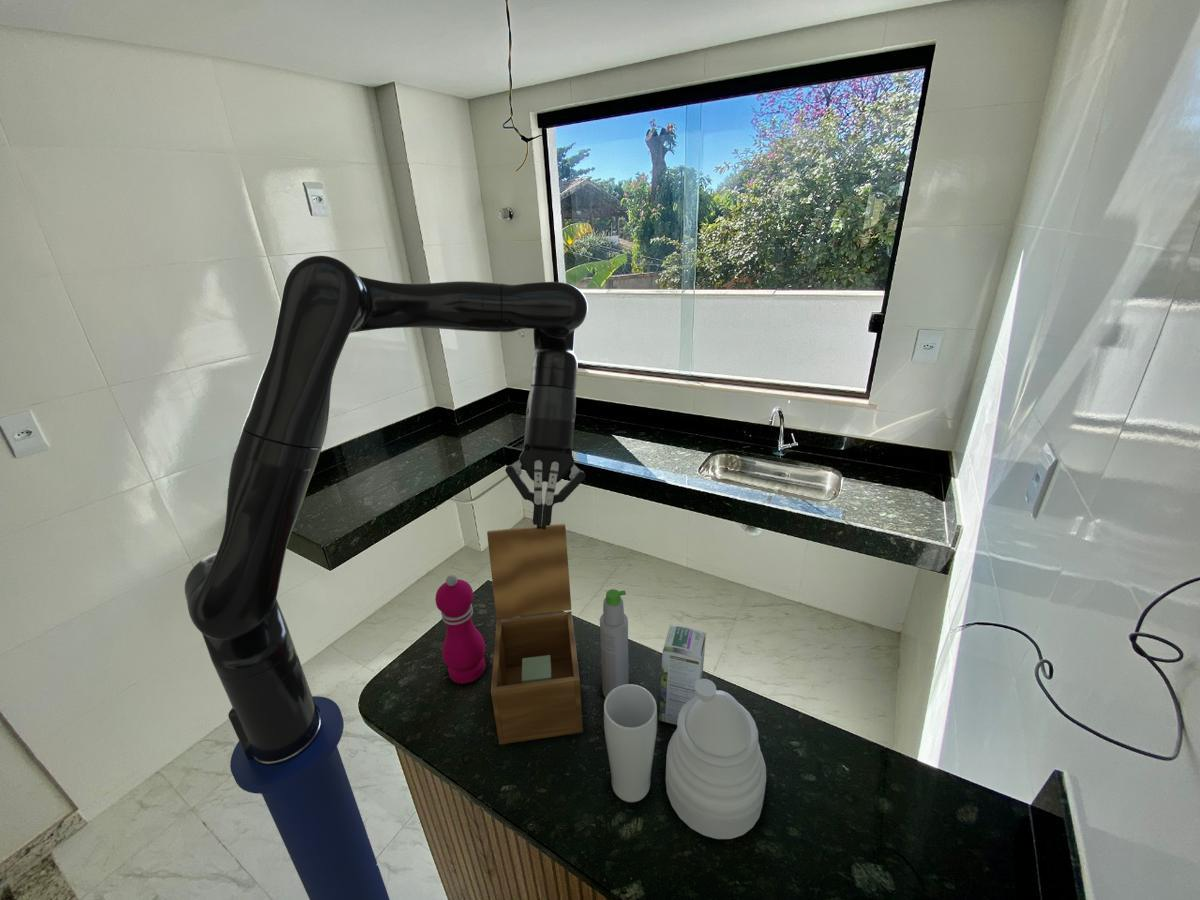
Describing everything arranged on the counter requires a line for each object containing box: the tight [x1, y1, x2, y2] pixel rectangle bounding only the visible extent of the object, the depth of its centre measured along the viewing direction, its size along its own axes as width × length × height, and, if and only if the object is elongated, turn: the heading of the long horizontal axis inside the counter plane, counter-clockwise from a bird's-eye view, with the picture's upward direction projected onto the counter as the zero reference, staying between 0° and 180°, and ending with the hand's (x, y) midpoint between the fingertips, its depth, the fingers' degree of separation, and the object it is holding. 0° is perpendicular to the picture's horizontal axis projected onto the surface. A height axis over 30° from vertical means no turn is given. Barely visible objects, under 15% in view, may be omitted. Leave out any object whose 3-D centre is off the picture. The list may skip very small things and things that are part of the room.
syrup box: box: [658, 624, 707, 726], centre depth 74 cm, size 6×6×14 cm
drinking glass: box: [603, 683, 658, 803], centre depth 63 cm, size 7×7×15 cm
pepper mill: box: [434, 574, 486, 685], centre depth 82 cm, size 7×7×20 cm
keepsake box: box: [490, 610, 584, 745], centre depth 78 cm, size 15×13×11 cm
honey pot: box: [665, 678, 767, 840], centre depth 62 cm, size 13×13×18 cm
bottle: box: [599, 588, 630, 699], centre depth 77 cm, size 4×4×20 cm
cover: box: [486, 523, 572, 620], centre depth 80 cm, size 15×13×1 cm
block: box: [522, 655, 552, 683], centre depth 76 cm, size 4×4×8 cm
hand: (541, 528), depth 76 cm, fingers closed
